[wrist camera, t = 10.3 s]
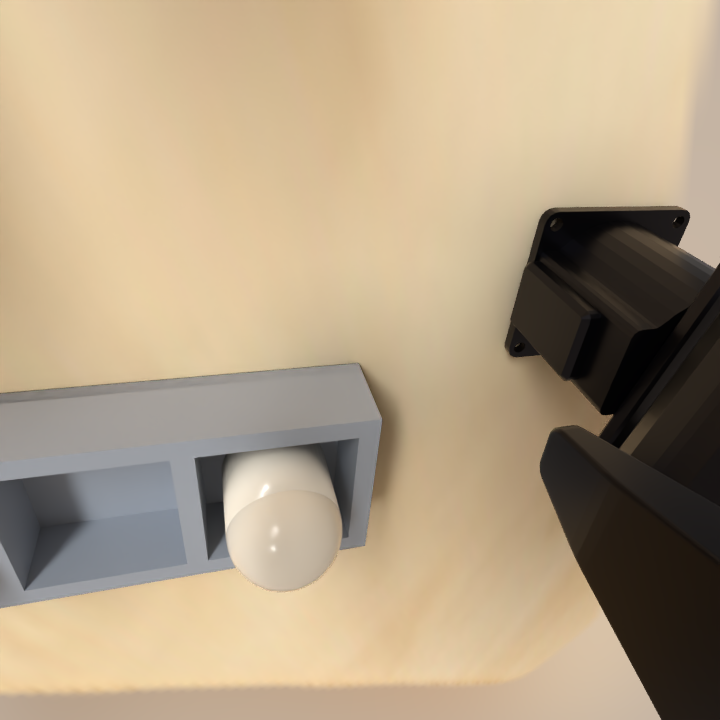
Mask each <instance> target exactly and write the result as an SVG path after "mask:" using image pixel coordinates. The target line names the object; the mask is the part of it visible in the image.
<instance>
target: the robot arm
mask: <svg viewBox="0 0 720 720" xmlns="http://www.w3.org/2000/svg"><path fill="white" fill-rule="evenodd" d="M676 218H677V219H676ZM555 219H557V222H556V223H555V225H553V226H552V227H550V225H551V223H552V221H553V220H555ZM675 219H676V220H675ZM689 219H690V213H689V212H688V211H687V210H685V209H683V208H681V207H678V206H650V207H574V208H551V209H549V210H547V211H546V212H545V213H544V214H543V215H542V216H541V218H540V220H539V223H538V227H537V231H536V234H535V238H534V241H533V245H532V248H531V252H530V256H529V259H528V263H527V266H526V267H525V269H524V272H523V276H522V280H521V283H520V287H519V290H518V294H517V298H516V301H515V305H514V308H513V312H512V316H511V324H510V327H509V331H508V334H507V338H506V341H505V348H506V350H507V351H508V353H509V354H510V355H511V356H513V357H524V356H535V355H541V356H542V357H543V358H544V359H545V360H546V362H547V363H548V364H549V365H550V366H551V367H552V368H553V369H554V371H555V372H556V373H557V374H558V375H559V376H560V377H561V378H562V379H563V380H564V381H569V380H571V381H572V383H573V384H574V385H575V386H576V387H577V388H578V389H579V390H580V391H581V392H582V394H583V395H584V396H585V397H586V398H587V399H588V400H589V401H590V402H591V403H592V405H593V406H594V407H595V408H596V409H597V410H598V411H599V412H600V413H601V414H602V415H610V414H614V415H613V416H612V418H611V419H610V420H609V422H608V423H607V425H606V426H605V428H604V429H603V430H602V432H601V433H600V435H599V436H598V437H597V436H596V435H594V434H592V433H590V432H589V431H587V430H585V429H583V428H581V427H579V426H574V425H573V426H565V427H558V428H555V429H553V430H552V431H551V433H550V435H549V438H548V440H547V443H546V446H545V449H544V452H543V455H542V458H541V461H540V473H541V477H542V479H543V482H544V484H545V487H546V489H547V492H548V494H549V496H550V499H551V501H552V504H553V506H554V509H555V511H556V513H557V516H558V518H559V521H560V523H561V526H562V528H563V530H564V533H565V535H566V538H567V540H568V543H569V545H570V547H571V549H572V552H573V554H574V556H575V558H576V560H577V562H578V564H579V566H580V568H581V570H582V572H583V574H584V576H585V578H586V580H587V582H588V583H589V585H590V587H591V589H592V591H593V593H594V595H595V597H596V598H597V600H598V602H599V604H600V606H601V608H602V610H603V611H604V613H605V615H606V617H607V619H608V621H609V623H610V625H611V626H612V628H613V630H614V632H615V634H616V636H617V638H618V640H619V641H620V643H621V645H622V647H623V649H624V650H625V652H626V654H627V656H628V658H629V660H630V662H631V664H632V666H633V668H634V669H635V671H636V673H637V675H638V677H639V679H640V681H641V682H642V684H643V686H644V688H645V690H646V692H647V694H648V695H649V697H650V699H651V701H652V703H653V705H654V707H655V708H656V711H657V712H658V714H659V716H660V718H661V720H720V263H719V265H718V266H717V268H716V269H715V268H713V267H711V266H709V265H707V264H706V263H704V262H703V261H701V260H699V259H698V258H696V257H694V256H692V255H691V254H689V253H687V252H686V251H684V250H682V249H681V248H679V247H678V245H679V243H680V241H681V238H682V236H683V234H684V232H685V229H686V227H687V225H688V223H689ZM674 220H675V222H674ZM518 343H520V344H519V345H518V346H517V347H515V346H516V345H517V344H518Z"/></svg>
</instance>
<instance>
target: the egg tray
mask: <svg viewBox="0 0 720 720" xmlns="http://www.w3.org/2000/svg"><path fill="white" fill-rule="evenodd" d="M381 426H382V417H381V415H380V413H379V410H378V408H377V405H376V403H375V401H374V398H373V396H372V394H371V391H370V389H369V387H368V384H367V382H366V379H365V377H364V375H363V372H362V370H361V368H360V365H359V363H354V364H342V365H331V366H319V367H307V368H295V369H284V370H272V371H260V372H248V373H236V374H225V375H213V376H201V377H189V378H177V379H166V380H154V381H142V382H130V383H118V384H107V385H95V386H83V387H71V388H60V389H48V390H36V391H24V392H12V393H1V394H0V608H4V607H10V606H16V605H22V604H28V603H33V602H39V601H45V600H51V599H57V598H63V597H69V596H74V595H80V594H86V593H92V592H98V591H104V590H109V589H115V588H121V587H127V586H133V585H139V584H144V583H150V582H156V581H162V580H168V579H174V578H180V577H185V576H191V575H197V574H203V573H209V572H215V571H220V570H226V569H232V568H236V567H235V566H234V564H233V562H232V560H231V558H230V555H229V552H228V548H227V543H226V532H225V517H224V502H223V487H222V463H223V460H224V458H225V456H226V454H231V453H239V452H247V451H256V450H264V449H272V448H281V447H289V446H297V445H306V444H314V443H319V444H320V445H321V447H322V449H323V452H324V456H325V459H326V463H327V466H328V470H329V474H330V477H331V481H332V485H333V488H334V492H335V495H336V499H337V503H338V506H339V510H340V514H341V519H342V540H341V545H340V548H339V550H343V549H349V548H355V547H361V546H365V542H366V535H367V528H368V520H369V513H370V506H371V498H372V491H373V484H374V477H375V469H376V462H377V455H378V447H379V440H380V433H381Z"/></svg>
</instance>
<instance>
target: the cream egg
mask: <svg viewBox="0 0 720 720" xmlns="http://www.w3.org/2000/svg"><path fill="white" fill-rule="evenodd" d="M222 487H223V502H224V517H225V532H226V543H227V548H228V552H229V555H230V558H231V560H232V562H233V564H234V566H235V567H236V568H237V570H238V571H239V572H240V574H241V575H242V576H243V577H244V578H245V579H247V580H248V581H249V582H250V583H252V584H254V585H255V586H257V587H259V588H262V589H265V590H268V591H272V592H291V591H296V590H299V589H302V588H305V587H307V586H309V585H310V584H312V583H314V582H315V581H317V580H318V579H319V578H321V577H322V576H323V575H324V574H325V573H326V572H327V570H328V569H329V568H330V566H331V565H332V564H333V562H334V560H335V558H336V556H337V554H338V551H339V548H340V545H341V540H342V519H341V514H340V510H339V506H338V503H337V499H336V495H335V492H334V488H333V485H332V481H331V477H330V474H329V470H328V466H327V463H326V459H325V456H324V452H323V449H322V447H321V445H320V444H319V443H314V444H306V445H297V446H289V447H281V448H272V449H264V450H256V451H247V452H239V453H231V454H226V456H225V458H224V460H223V463H222Z"/></svg>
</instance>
